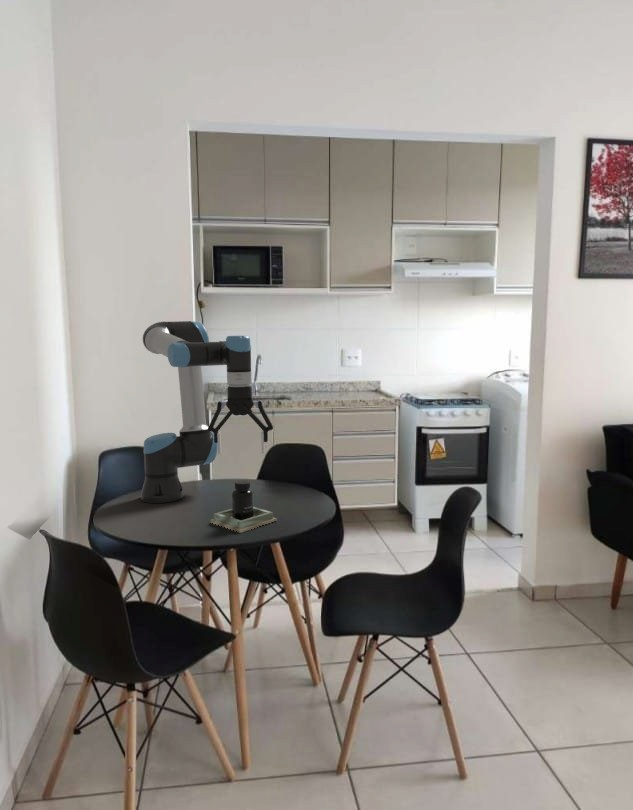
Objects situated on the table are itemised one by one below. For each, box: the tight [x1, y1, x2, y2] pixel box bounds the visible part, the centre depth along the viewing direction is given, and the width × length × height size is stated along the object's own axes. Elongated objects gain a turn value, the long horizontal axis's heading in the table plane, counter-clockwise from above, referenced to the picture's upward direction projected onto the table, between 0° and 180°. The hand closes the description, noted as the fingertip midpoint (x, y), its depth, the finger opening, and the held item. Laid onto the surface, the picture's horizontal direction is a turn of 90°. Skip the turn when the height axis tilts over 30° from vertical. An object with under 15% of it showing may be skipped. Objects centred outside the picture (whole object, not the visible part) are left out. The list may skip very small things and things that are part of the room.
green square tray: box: [209, 506, 278, 534], centre depth 197 cm, size 15×15×3 cm
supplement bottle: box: [231, 480, 255, 520], centre depth 197 cm, size 7×7×12 cm
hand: (241, 452), depth 195 cm, fingers open, 13 cm apart
